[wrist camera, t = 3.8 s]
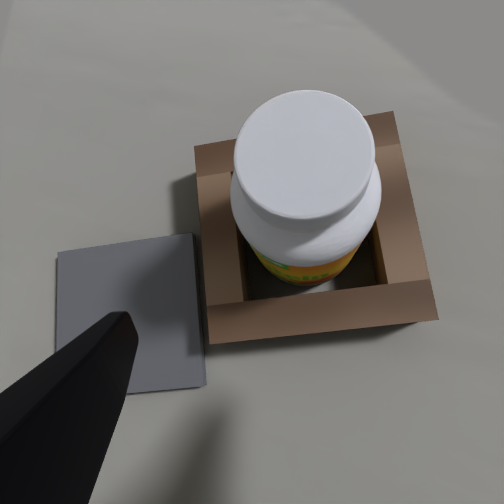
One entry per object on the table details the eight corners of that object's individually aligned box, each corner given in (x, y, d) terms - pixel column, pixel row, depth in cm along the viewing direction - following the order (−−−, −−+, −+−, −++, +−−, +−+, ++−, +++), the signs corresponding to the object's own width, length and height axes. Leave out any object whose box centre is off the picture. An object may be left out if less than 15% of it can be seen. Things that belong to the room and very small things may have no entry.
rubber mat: (206, 384, 19) (203, 386, 18) (63, 398, 20) (55, 400, 19) (195, 235, 20) (192, 232, 20) (64, 254, 21) (57, 252, 21)
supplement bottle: (243, 273, 20) (184, 220, 10) (269, 181, 20) (236, 55, 11) (343, 299, 19) (380, 267, 9) (366, 201, 19) (421, 81, 10)
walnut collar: (421, 320, 18) (438, 319, 15) (222, 342, 19) (209, 344, 17) (382, 137, 20) (393, 110, 18) (206, 167, 21) (194, 146, 19)
